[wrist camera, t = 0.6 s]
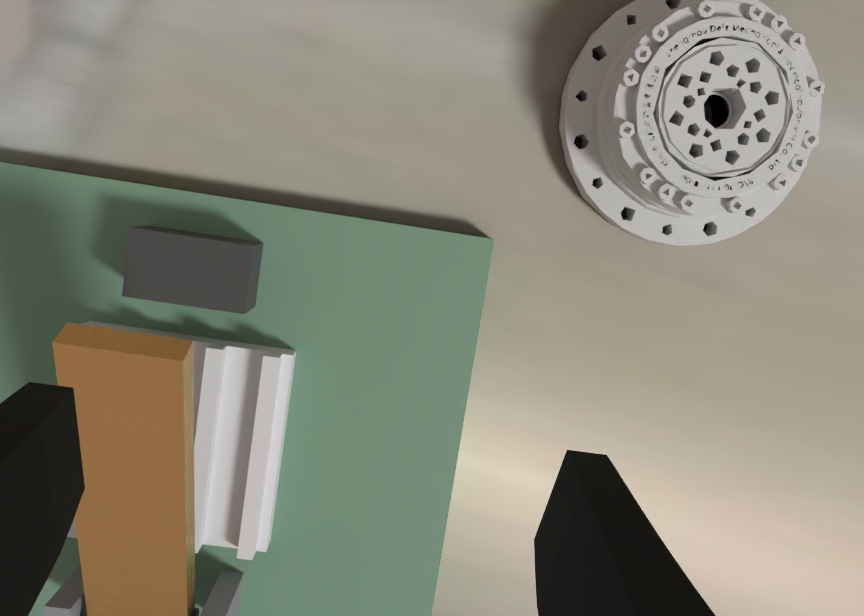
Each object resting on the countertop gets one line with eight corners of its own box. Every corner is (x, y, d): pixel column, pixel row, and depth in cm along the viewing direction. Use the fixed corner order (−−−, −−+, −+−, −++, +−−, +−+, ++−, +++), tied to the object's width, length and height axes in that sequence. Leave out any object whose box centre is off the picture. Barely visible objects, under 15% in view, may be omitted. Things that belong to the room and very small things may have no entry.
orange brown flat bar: (199, 622, 30) (188, 656, 29) (100, 611, 30) (85, 644, 29) (198, 336, 23) (184, 365, 22) (66, 317, 23) (45, 346, 21)
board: (422, 647, 34) (426, 728, 29) (-98, 584, 32) (-194, 657, 27) (490, 237, 32) (508, 245, 26) (-67, 150, 30) (-166, 140, 25)
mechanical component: (649, -59, 30) (509, 157, 31) (691, -102, 26) (527, 150, 27) (847, 84, 32) (706, 289, 32) (919, 65, 27) (754, 303, 28)
